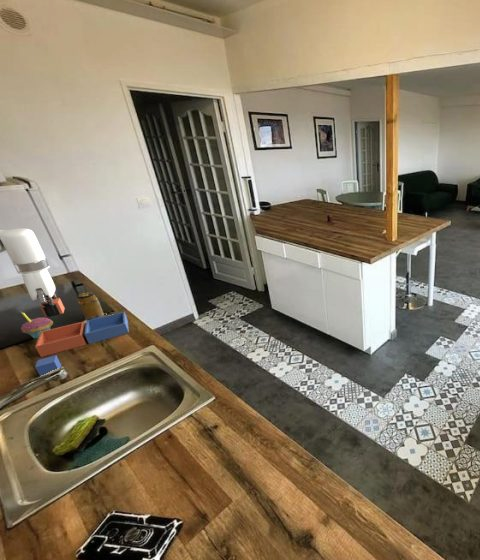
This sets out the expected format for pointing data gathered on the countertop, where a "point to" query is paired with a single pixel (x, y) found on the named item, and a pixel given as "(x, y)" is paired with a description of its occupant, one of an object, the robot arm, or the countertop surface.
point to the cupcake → (36, 326)
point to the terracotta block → (58, 304)
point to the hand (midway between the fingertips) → (54, 311)
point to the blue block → (47, 365)
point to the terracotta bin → (61, 339)
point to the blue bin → (106, 327)
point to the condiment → (90, 306)
